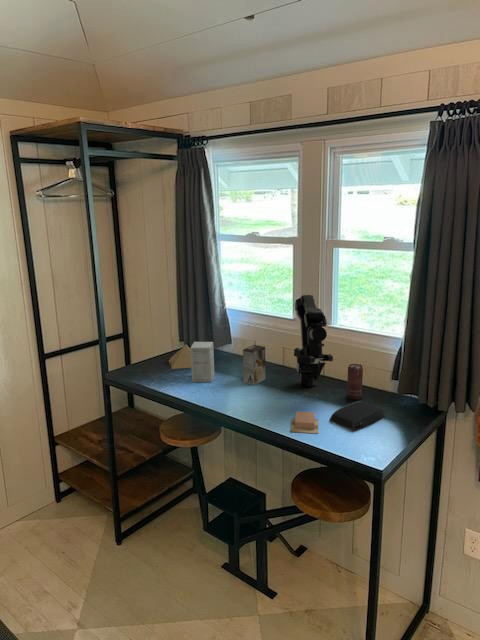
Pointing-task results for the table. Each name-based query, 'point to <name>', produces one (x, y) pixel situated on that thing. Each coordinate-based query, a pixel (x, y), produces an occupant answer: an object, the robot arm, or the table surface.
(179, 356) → the model pyramid
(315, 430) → the brass plate
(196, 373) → the supplement box
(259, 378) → the coffee box
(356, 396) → the can
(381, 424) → the table surface
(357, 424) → the external hard drive
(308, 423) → the block
